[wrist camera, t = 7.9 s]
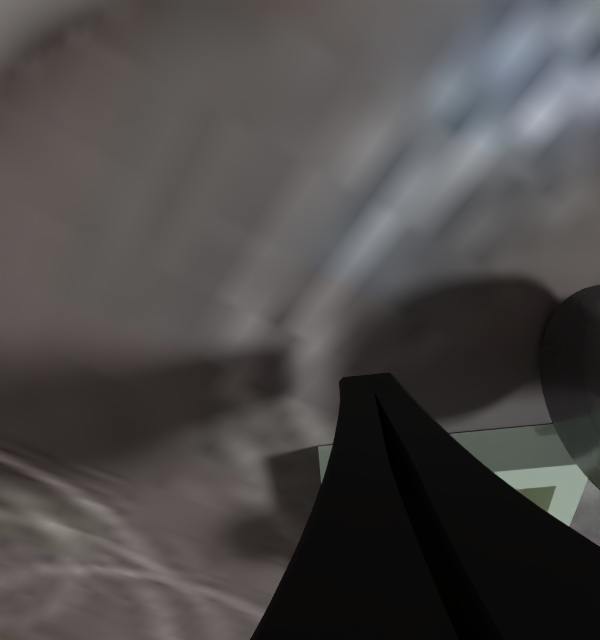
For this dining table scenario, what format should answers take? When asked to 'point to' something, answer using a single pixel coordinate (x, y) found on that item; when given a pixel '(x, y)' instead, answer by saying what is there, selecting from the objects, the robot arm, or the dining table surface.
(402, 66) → the dining table surface
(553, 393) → the shaft
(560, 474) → the pale green square tray
